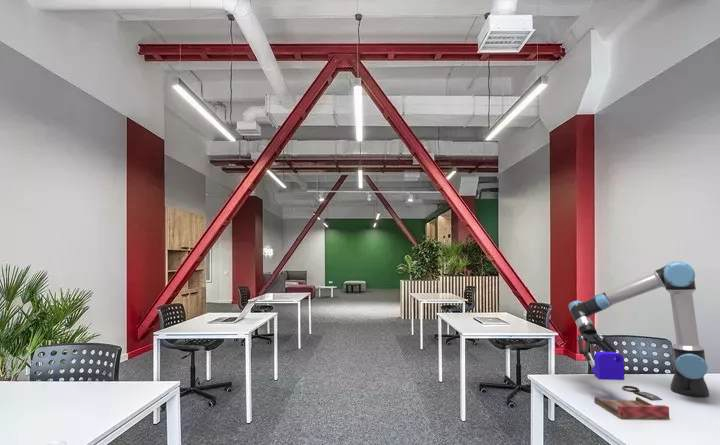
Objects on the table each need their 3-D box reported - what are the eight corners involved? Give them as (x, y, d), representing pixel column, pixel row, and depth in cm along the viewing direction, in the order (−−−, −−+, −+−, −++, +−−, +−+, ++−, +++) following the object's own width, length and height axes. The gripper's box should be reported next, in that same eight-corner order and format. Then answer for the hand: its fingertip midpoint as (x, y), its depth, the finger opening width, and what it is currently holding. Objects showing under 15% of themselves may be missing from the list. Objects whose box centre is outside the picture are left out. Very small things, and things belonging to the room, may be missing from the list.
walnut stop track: (637, 402, 196) (637, 391, 196) (669, 419, 176) (668, 407, 176) (594, 402, 196) (594, 391, 196) (620, 419, 176) (620, 406, 176)
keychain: (649, 401, 199) (648, 397, 199) (618, 388, 218) (617, 384, 218) (663, 400, 200) (663, 396, 200) (631, 388, 219) (631, 384, 219)
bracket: (624, 380, 198) (623, 354, 199) (600, 379, 199) (598, 353, 200) (605, 369, 216) (604, 346, 217) (583, 369, 217) (582, 345, 218)
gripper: (605, 331, 224) (625, 370, 207) (562, 332, 224) (578, 370, 207) (610, 323, 219) (631, 361, 202) (566, 323, 219) (584, 362, 202)
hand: (604, 366), depth 205 cm, fingers closed on bracket, 10 cm apart
